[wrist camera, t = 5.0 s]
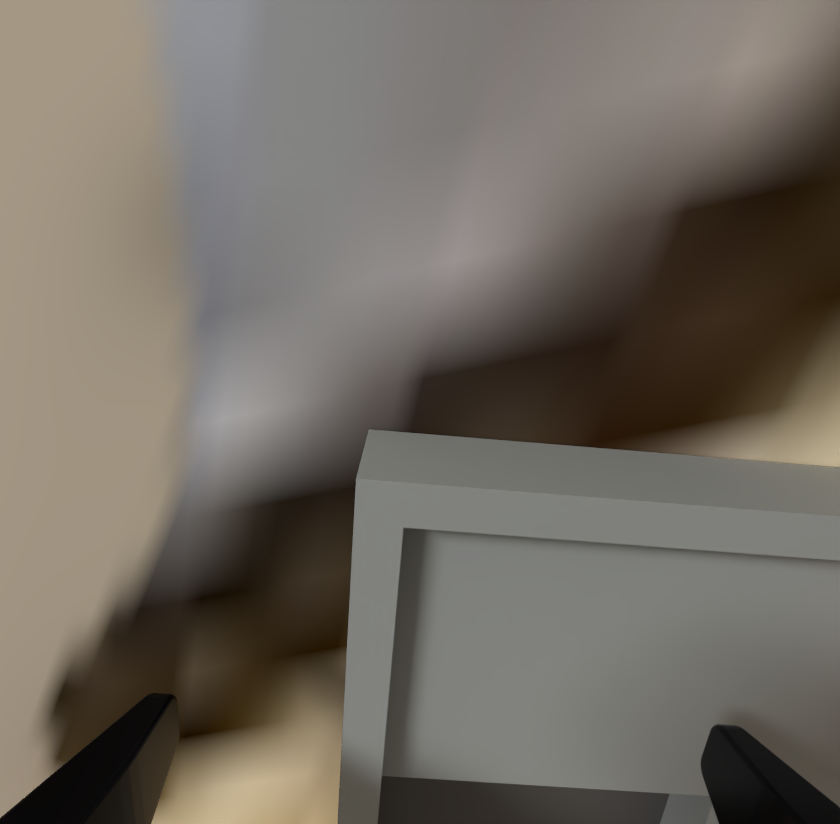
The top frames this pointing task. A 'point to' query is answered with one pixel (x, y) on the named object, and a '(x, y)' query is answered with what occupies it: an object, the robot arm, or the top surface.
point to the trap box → (581, 629)
